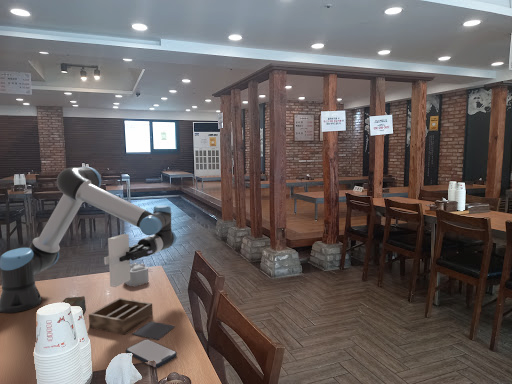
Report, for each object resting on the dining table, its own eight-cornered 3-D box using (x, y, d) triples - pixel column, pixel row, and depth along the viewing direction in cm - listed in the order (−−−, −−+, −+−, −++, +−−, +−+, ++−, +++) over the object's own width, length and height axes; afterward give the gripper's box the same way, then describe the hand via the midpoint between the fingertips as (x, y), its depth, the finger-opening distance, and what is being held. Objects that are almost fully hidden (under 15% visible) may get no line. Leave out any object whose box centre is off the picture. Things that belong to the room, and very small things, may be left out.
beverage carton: (45, 335, 125) (44, 317, 125) (66, 311, 144) (65, 296, 143) (69, 333, 126) (68, 315, 126) (86, 310, 145) (85, 294, 145)
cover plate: (110, 286, 130) (108, 238, 128) (125, 279, 137) (123, 233, 136) (115, 287, 129) (113, 239, 127) (130, 280, 137) (128, 234, 135)
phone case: (124, 354, 114) (156, 370, 104) (123, 349, 114) (155, 365, 104) (147, 342, 121) (178, 356, 111) (146, 337, 121) (178, 352, 111)
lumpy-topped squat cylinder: (131, 287, 169) (130, 270, 169) (119, 280, 179) (119, 264, 178) (151, 282, 177) (150, 265, 176) (139, 276, 186) (138, 260, 185)
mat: (132, 334, 125) (132, 333, 125) (150, 322, 134) (149, 321, 134) (158, 340, 121) (158, 338, 121) (174, 326, 130) (174, 325, 130)
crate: (89, 327, 130) (88, 314, 130) (120, 309, 145) (119, 297, 145) (124, 334, 125) (123, 321, 124) (152, 315, 140) (152, 303, 139)
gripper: (165, 256, 147) (126, 274, 125) (134, 252, 152) (92, 269, 130) (164, 238, 146) (125, 253, 124) (134, 235, 151) (91, 249, 129)
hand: (108, 261), depth 127 cm, fingers closed on cover plate, 2 cm apart
